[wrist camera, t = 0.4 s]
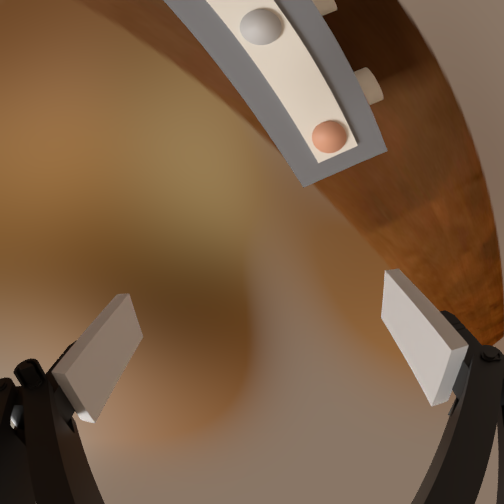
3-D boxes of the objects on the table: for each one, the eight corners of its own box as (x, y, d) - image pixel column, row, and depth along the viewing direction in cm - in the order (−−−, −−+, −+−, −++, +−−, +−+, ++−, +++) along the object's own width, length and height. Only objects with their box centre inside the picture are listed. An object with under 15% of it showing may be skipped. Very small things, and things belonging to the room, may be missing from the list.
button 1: (318, 82, 28) (325, 91, 25) (361, 63, 26) (373, 71, 23) (333, 111, 30) (341, 123, 28) (374, 93, 28) (387, 104, 25)
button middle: (264, 1, 21) (265, -1, 19) (311, -20, 19) (318, -24, 16) (285, 30, 24) (289, 32, 21) (331, 10, 21) (341, 10, 19)
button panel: (164, -38, 21) (102, -58, 9) (227, -75, 17) (203, -123, 6) (290, 124, 39) (304, 191, 27) (348, 97, 35) (392, 153, 24)
